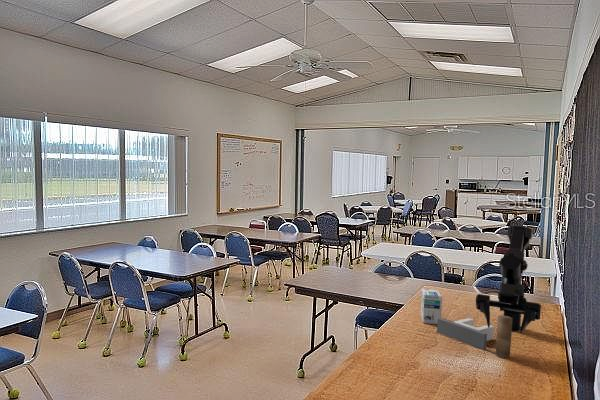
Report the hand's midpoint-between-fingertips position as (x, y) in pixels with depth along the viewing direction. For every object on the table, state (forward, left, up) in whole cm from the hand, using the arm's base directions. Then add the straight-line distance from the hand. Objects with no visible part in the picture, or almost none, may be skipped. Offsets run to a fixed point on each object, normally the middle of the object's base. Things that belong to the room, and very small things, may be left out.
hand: (504, 329), depth 142 cm
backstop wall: (0, -15, -8) cm, 17 cm away
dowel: (0, 0, -8) cm, 8 cm away
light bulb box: (-9, -35, -8) cm, 37 cm away
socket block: (-6, -15, -8) cm, 18 cm away
